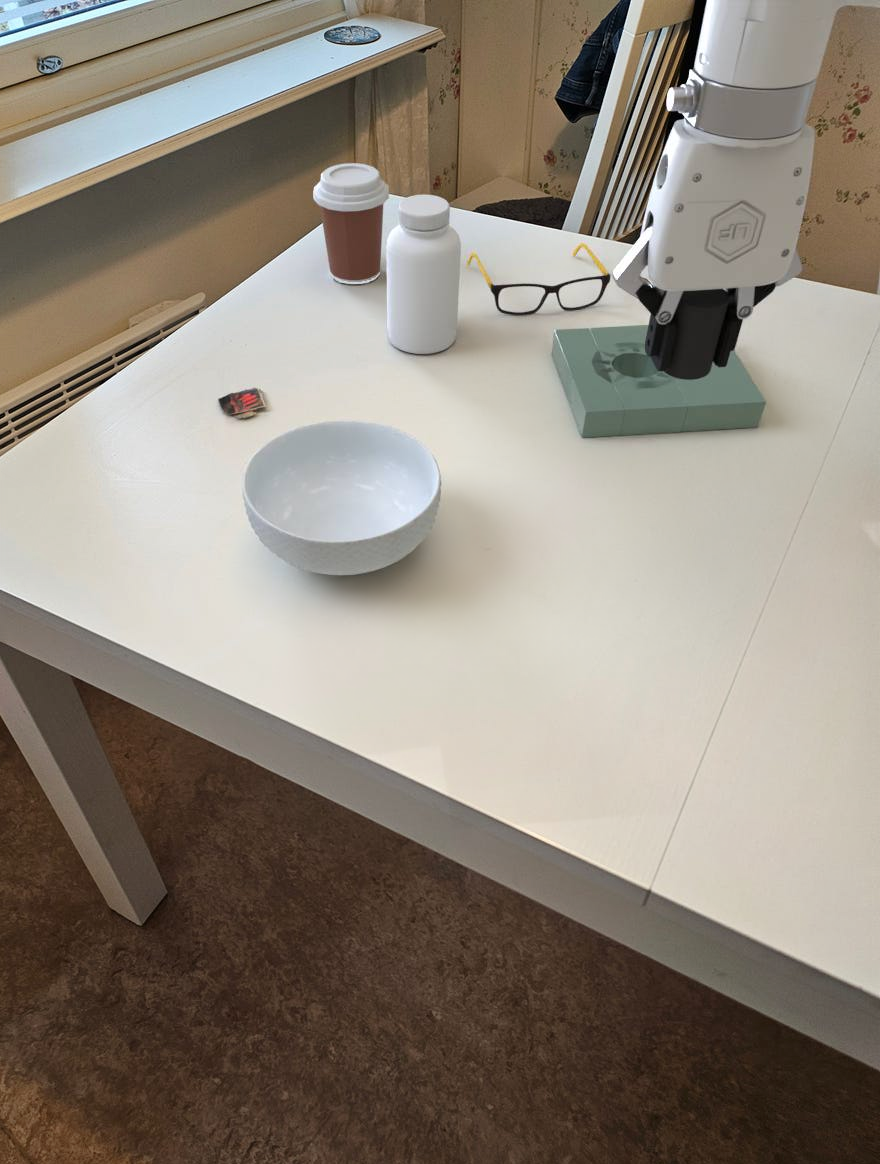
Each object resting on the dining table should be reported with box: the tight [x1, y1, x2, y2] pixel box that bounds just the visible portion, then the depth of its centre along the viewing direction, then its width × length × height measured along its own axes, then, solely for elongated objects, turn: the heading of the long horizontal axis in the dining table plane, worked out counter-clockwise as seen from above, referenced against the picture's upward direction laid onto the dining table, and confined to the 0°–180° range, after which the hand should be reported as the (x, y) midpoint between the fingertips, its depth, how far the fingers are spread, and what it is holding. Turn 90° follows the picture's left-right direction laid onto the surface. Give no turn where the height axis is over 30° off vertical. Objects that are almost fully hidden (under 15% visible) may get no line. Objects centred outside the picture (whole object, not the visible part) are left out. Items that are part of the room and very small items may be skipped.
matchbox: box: [217, 387, 266, 420], centre depth 94 cm, size 5×5×1 cm
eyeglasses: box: [466, 243, 611, 316], centre depth 110 cm, size 14×14×4 cm
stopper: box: [663, 289, 729, 380], centre depth 69 cm, size 4×4×6 cm
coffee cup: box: [312, 162, 390, 282], centre depth 110 cm, size 9×9×12 cm
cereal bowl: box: [241, 419, 442, 576], centre depth 77 cm, size 17×17×7 cm
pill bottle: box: [385, 194, 462, 355], centre depth 98 cm, size 8×8×15 cm
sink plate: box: [551, 324, 767, 439], centre depth 94 cm, size 18×16×3 cm
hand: (686, 358), depth 71 cm, fingers closed on stopper, 4 cm apart
